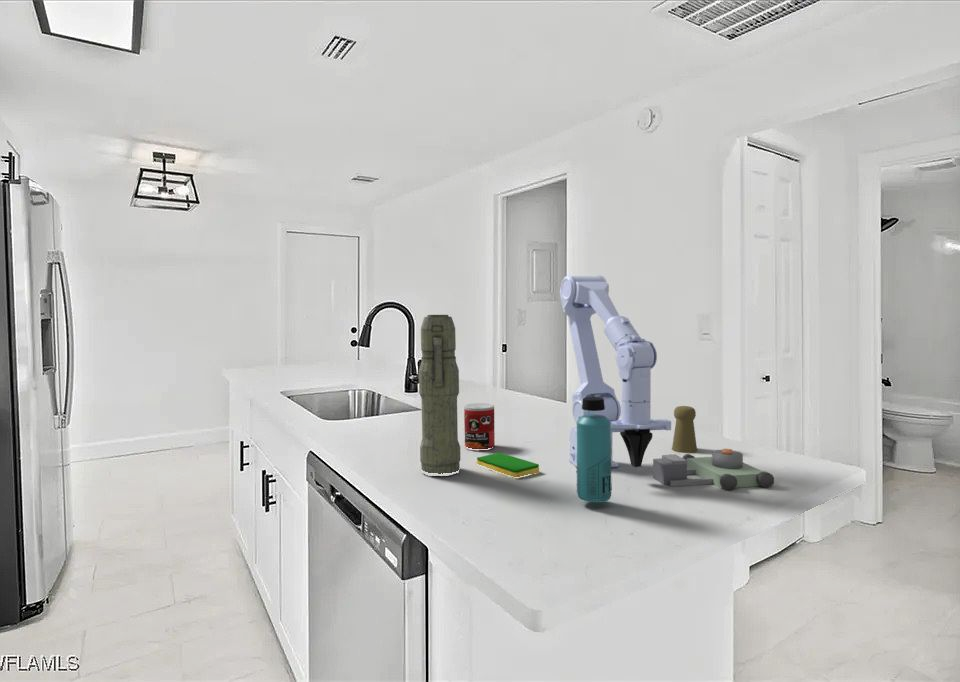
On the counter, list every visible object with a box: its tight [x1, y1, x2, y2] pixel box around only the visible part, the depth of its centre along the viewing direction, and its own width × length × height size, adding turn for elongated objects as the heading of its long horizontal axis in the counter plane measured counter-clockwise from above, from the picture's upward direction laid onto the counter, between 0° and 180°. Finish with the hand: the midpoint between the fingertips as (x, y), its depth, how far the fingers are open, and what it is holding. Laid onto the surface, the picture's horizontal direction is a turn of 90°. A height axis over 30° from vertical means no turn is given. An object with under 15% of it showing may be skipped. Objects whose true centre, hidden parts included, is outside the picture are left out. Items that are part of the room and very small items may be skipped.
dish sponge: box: [476, 452, 540, 477], centre depth 134 cm, size 7×14×2 cm, turn 38°
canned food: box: [463, 402, 496, 449], centre depth 154 cm, size 8×8×11 cm
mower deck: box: [669, 448, 775, 491], centre depth 125 cm, size 20×17×6 cm
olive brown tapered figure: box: [671, 405, 698, 454], centre depth 149 cm, size 6×6×11 cm
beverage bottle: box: [575, 397, 613, 503], centre depth 109 cm, size 6×7×20 cm
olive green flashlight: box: [418, 314, 461, 474], centre depth 132 cm, size 9×12×35 cm
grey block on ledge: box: [652, 454, 688, 485], centre depth 124 cm, size 5×5×5 cm
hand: (636, 465), depth 123 cm, fingers closed
